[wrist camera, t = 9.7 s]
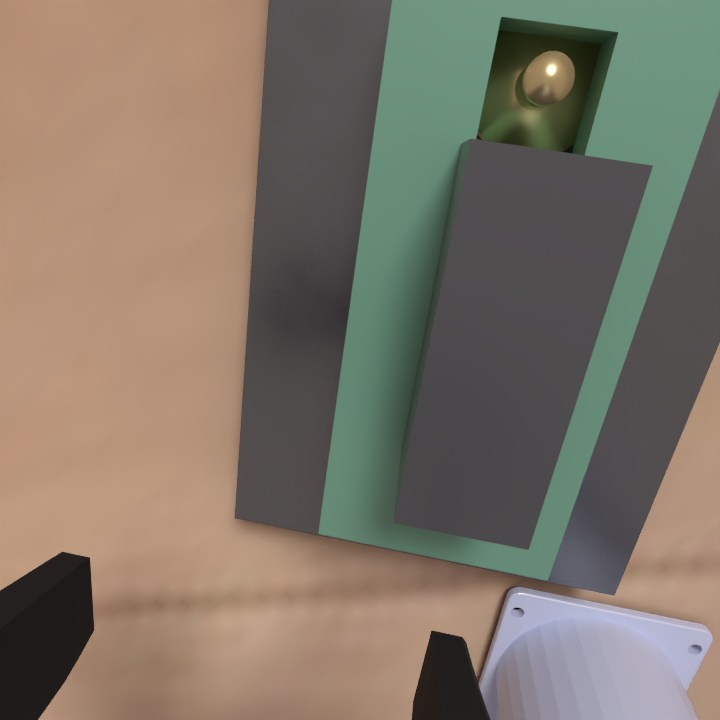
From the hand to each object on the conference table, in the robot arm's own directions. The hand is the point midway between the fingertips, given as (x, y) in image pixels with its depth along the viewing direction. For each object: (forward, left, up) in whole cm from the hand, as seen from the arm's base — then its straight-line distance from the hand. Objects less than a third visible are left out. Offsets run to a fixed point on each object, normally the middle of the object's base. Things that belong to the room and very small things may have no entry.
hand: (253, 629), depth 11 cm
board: (+6, -4, -6) cm, 10 cm away
